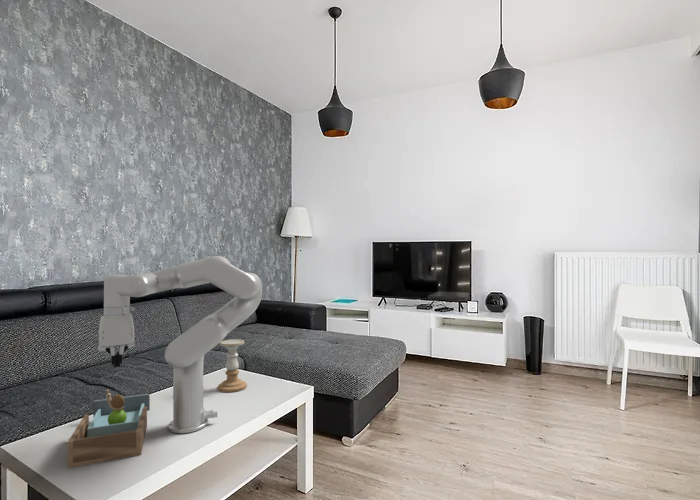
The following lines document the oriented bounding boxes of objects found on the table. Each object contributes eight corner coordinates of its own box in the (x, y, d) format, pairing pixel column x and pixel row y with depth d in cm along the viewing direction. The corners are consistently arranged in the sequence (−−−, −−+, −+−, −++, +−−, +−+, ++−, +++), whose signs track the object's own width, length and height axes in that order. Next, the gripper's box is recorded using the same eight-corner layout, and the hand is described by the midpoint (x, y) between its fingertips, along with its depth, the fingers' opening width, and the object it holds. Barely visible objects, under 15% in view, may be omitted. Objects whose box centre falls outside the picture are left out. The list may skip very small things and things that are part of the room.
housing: (84, 436, 129) (84, 415, 129) (147, 427, 136) (147, 406, 136) (67, 467, 110) (67, 442, 110) (140, 454, 117) (140, 430, 117)
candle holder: (238, 381, 184) (238, 337, 184) (252, 388, 175) (251, 341, 175) (212, 387, 176) (212, 341, 176) (225, 394, 167) (225, 346, 167)
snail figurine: (112, 422, 135) (112, 386, 135) (130, 423, 134) (130, 387, 134) (100, 429, 129) (100, 392, 130) (119, 430, 129) (119, 392, 129)
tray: (94, 416, 141) (94, 400, 142) (149, 409, 148) (149, 393, 148) (81, 440, 124) (81, 421, 124) (144, 430, 131) (144, 412, 131)
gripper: (139, 308, 142) (139, 360, 142) (89, 312, 133) (89, 367, 133) (143, 311, 136) (143, 365, 136) (91, 315, 127) (90, 373, 127)
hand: (116, 366), depth 134 cm, fingers closed
